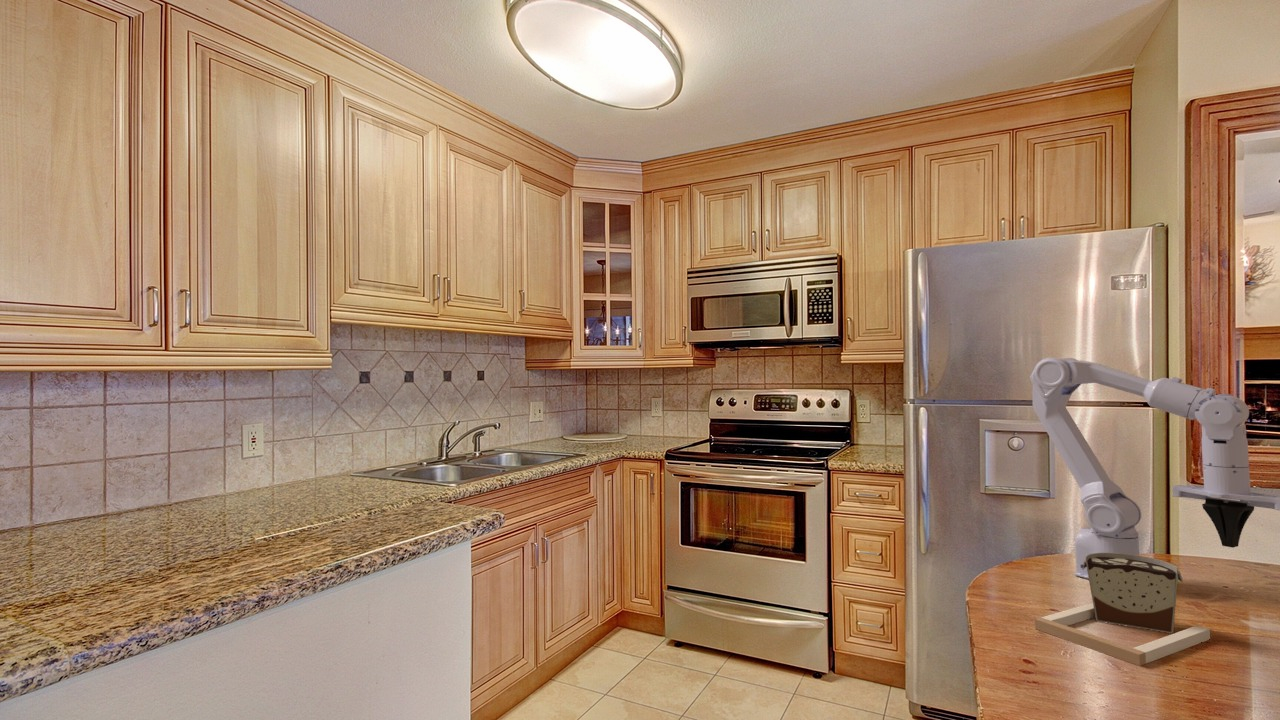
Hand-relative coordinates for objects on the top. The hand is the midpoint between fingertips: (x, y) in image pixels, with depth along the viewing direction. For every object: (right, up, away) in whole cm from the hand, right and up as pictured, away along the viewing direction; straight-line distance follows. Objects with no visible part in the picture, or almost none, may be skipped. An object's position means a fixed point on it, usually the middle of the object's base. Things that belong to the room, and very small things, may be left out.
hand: (1230, 546), depth 103 cm
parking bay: (-27, -10, -11) cm, 31 cm away
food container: (-22, -10, -6) cm, 25 cm away
